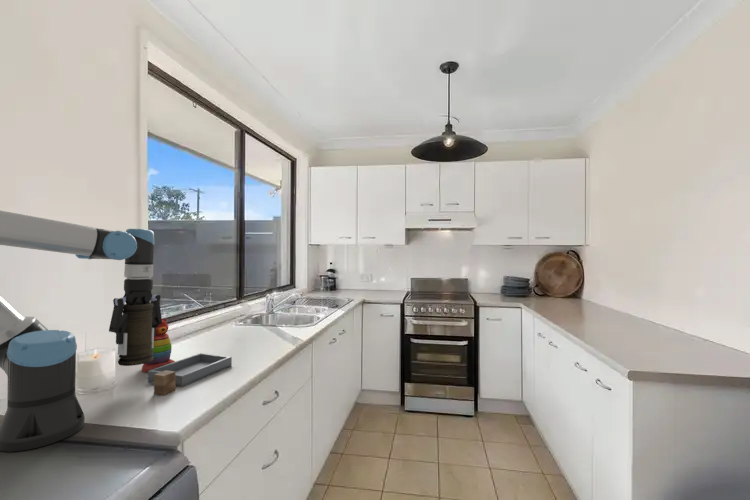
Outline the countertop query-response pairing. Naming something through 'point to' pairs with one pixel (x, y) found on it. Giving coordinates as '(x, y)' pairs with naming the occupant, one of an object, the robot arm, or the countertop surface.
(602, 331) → the countertop surface
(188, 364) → the tray
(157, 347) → the stacking bear
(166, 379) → the walnut block
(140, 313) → the container
